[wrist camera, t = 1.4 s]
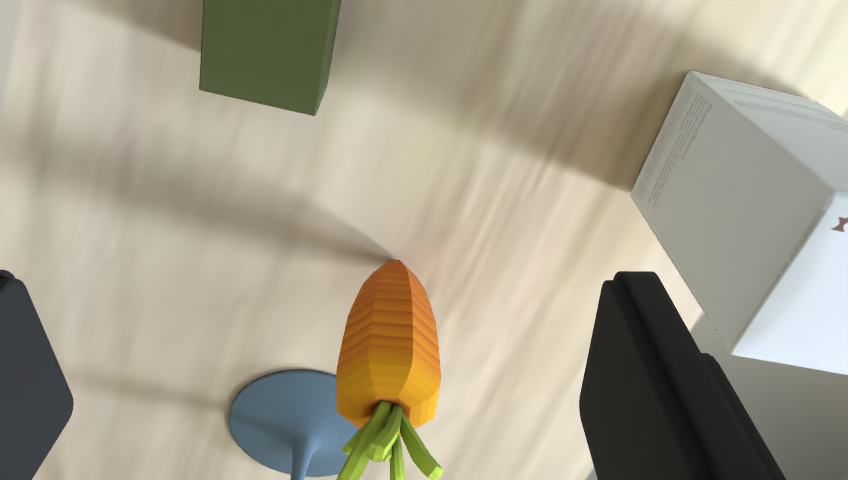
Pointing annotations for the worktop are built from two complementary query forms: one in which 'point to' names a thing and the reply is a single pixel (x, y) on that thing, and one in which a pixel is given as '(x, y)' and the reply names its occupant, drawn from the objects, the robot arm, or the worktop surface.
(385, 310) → the carrot
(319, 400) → the cocktail glass
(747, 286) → the white packaging box
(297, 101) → the olive green block
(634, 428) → the robot arm
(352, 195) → the worktop surface
